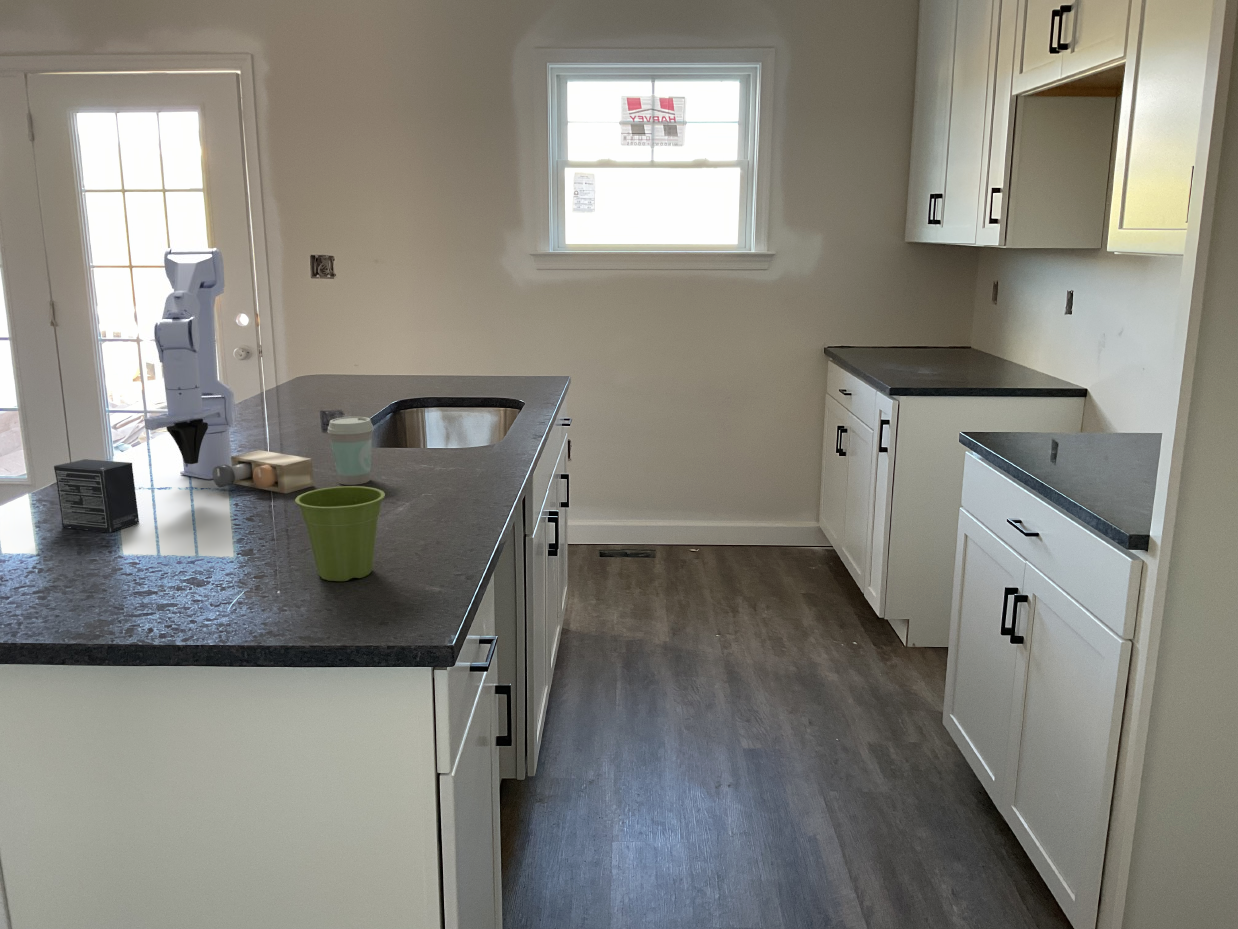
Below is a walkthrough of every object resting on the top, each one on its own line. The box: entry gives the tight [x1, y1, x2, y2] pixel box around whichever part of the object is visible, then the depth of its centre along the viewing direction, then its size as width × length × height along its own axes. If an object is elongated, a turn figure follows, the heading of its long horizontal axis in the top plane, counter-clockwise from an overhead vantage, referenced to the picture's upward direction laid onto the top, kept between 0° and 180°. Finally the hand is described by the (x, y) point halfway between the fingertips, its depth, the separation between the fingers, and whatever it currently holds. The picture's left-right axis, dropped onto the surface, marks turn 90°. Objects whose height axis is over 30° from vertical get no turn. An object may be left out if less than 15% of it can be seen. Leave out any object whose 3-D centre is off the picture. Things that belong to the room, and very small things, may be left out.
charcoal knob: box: [212, 462, 253, 488], centre depth 181 cm, size 7×4×4 cm, turn 148°
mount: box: [231, 449, 314, 494], centre depth 184 cm, size 15×6×5 cm, turn 58°
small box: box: [53, 458, 140, 533], centre depth 158 cm, size 11×6×10 cm, turn 71°
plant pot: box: [294, 485, 386, 582], centre depth 134 cm, size 12×12×11 cm
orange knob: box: [253, 465, 278, 489], centre depth 180 cm, size 7×4×4 cm, turn 148°
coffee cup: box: [327, 416, 375, 486], centre depth 185 cm, size 8×8×12 cm
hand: (191, 463), depth 173 cm, fingers closed
